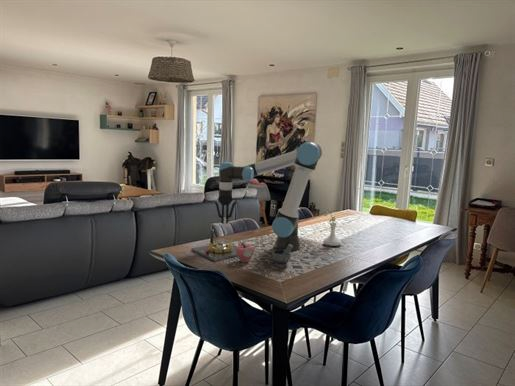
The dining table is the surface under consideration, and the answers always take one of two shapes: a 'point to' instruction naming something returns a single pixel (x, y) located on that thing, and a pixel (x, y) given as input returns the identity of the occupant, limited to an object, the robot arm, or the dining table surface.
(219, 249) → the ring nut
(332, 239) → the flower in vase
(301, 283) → the dining table surface
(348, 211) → the dining table surface
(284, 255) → the mortar and pestle
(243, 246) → the red apple
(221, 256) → the gray square tray
